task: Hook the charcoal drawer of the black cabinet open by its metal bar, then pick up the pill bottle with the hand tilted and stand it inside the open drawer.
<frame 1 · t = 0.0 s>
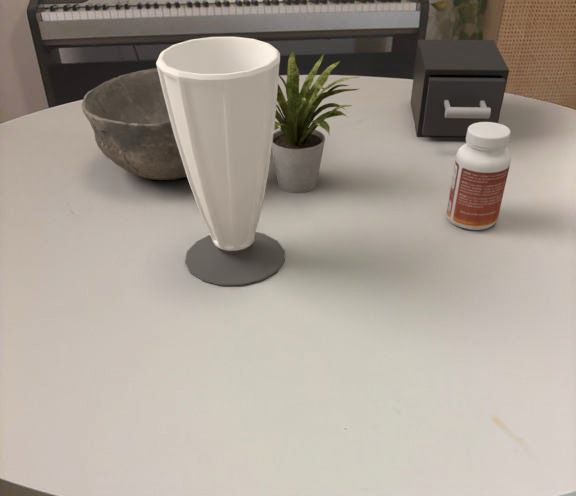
bowl: (171, 166, 91), on the table
house plant: (296, 189, 85), on the table
cup: (235, 258, 73), on the table
drawer: (459, 98, 95), point 5 cm above the table, slide at 0.5 cm
cabinet: (450, 119, 101), on the table
pill bottle: (470, 220, 79), on the table
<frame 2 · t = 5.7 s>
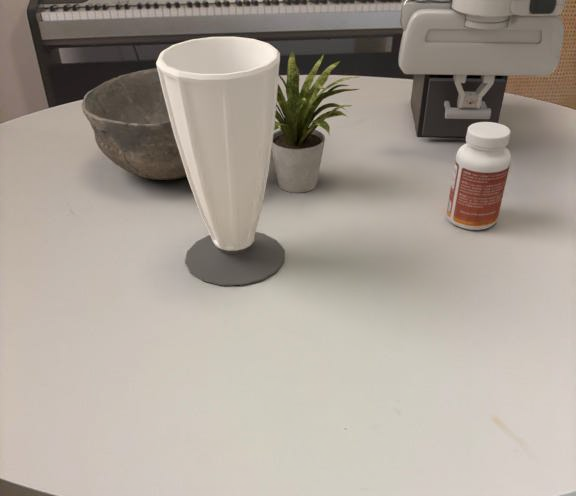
hand: (468, 107, 88), 6 cm above the table, tool pointing down, fingers closed, pressing on drawer
drawer: (459, 99, 94), point 5 cm above the table, slide at 0.7 cm, touching gripper
everything else where it was.
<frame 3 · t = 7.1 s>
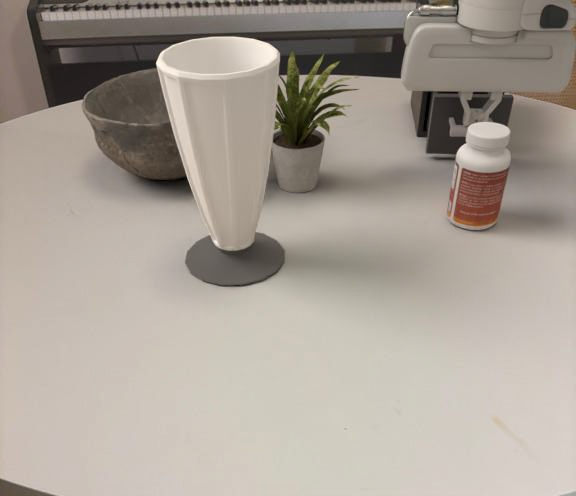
hand: (474, 124, 84), 6 cm above the table, tool pointing down, fingers closed, pressing on drawer
drawer: (464, 115, 90), point 5 cm above the table, slide at 6.7 cm, touching gripper
everything else where it was.
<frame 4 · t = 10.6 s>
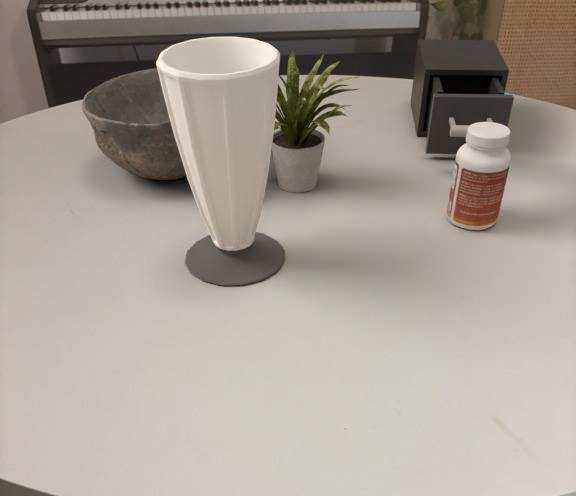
drawer: (464, 115, 90), point 5 cm above the table, slide at 6.7 cm
everything else where it was.
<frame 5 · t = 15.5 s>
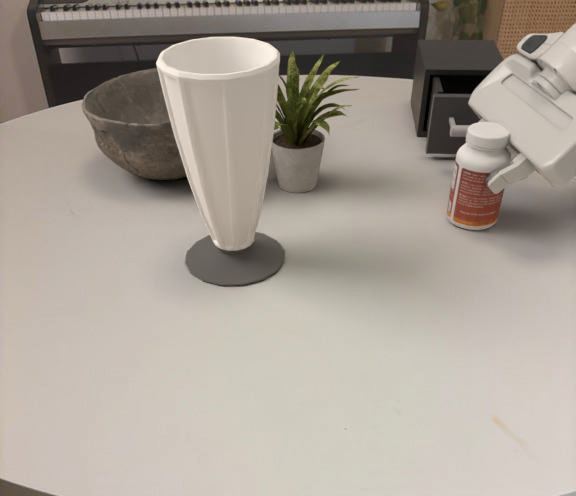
hand: (475, 172, 75), 6 cm above the table, tool tilted 45°, fingers closed on pill bottle, 6 cm apart
pill bottle: (470, 220, 79), on the table, touching gripper
everything else where it was.
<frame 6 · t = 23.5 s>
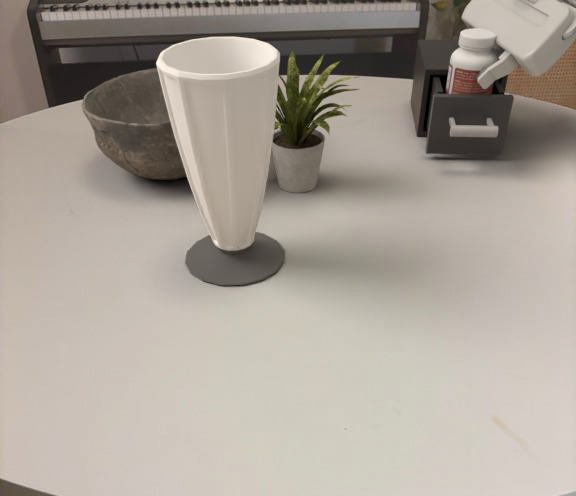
hand: (466, 74, 87), 10 cm above the table, tool tilted 45°, fingers closed on pill bottle, 6 cm apart
pill bottle: (463, 120, 91), point 4 cm above the table, touching gripper
everything else where it was.
when the fingers open (10 cm above the table, at t = 24.4 s): pill bottle drops 2 cm, resting on drawer.
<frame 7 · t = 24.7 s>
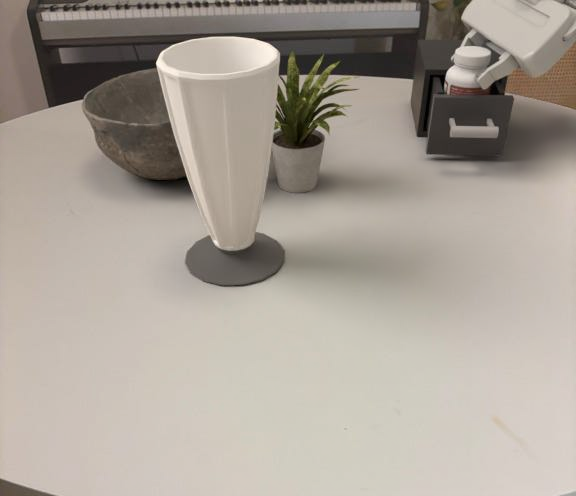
hand: (466, 74, 86), 10 cm above the table, tool tilted 45°, fingers open, 6 cm apart
drawer: (465, 115, 90), point 5 cm above the table, slide at 6.9 cm, touching pill bottle
pill bottle: (458, 135, 92), point 2 cm above the table, touching drawer
everything else where it was.
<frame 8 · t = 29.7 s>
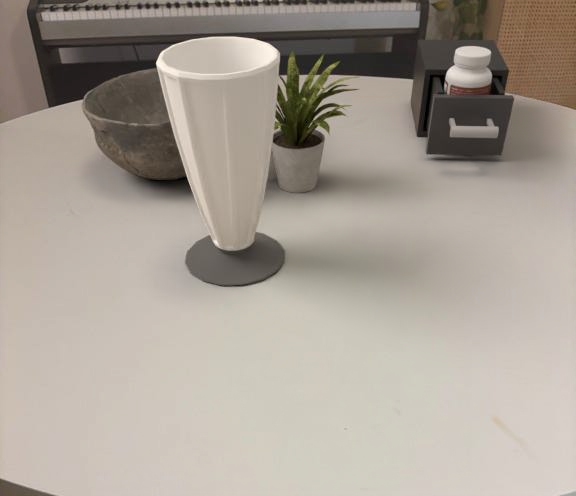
nothing on the table moved.
at the end: drawer slide at 6.9 cm; pill bottle inside the target area in the drawer (0.3 cm from its centre), point 1.8 cm above the cabinet's base; pill bottle tilted 0° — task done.
